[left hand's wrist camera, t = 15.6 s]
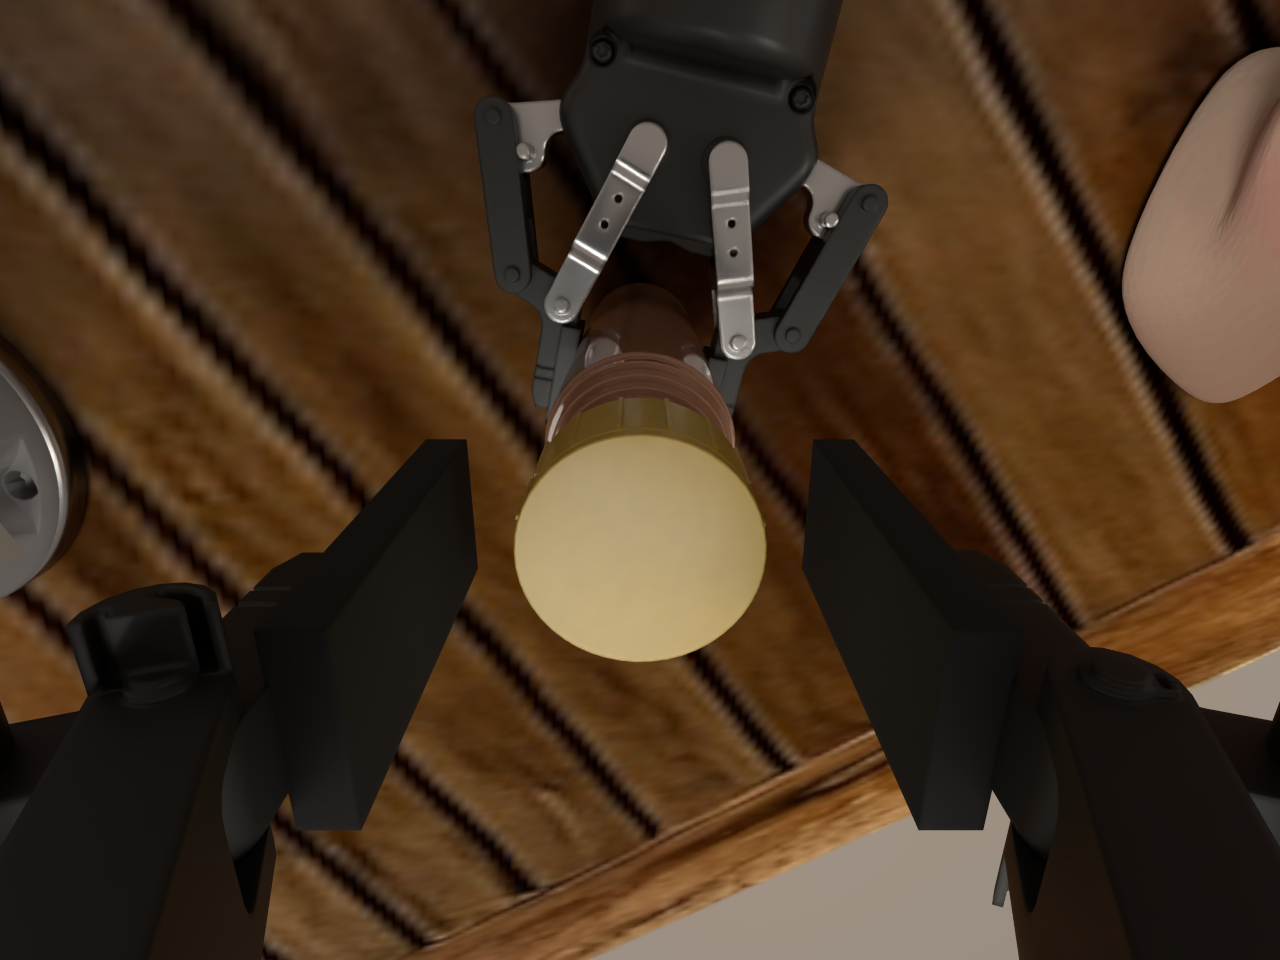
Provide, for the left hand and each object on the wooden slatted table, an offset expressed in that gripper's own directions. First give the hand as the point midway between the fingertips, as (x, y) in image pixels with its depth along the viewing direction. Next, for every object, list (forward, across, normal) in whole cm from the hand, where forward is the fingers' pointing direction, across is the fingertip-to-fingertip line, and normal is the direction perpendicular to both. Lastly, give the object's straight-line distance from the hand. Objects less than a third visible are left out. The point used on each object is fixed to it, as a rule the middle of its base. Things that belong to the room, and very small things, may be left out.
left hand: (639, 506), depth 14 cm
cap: (-2, 0, 0) cm, 2 cm away
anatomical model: (+19, +26, +4) cm, 33 cm away
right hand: (+13, 0, -3) cm, 14 cm away
